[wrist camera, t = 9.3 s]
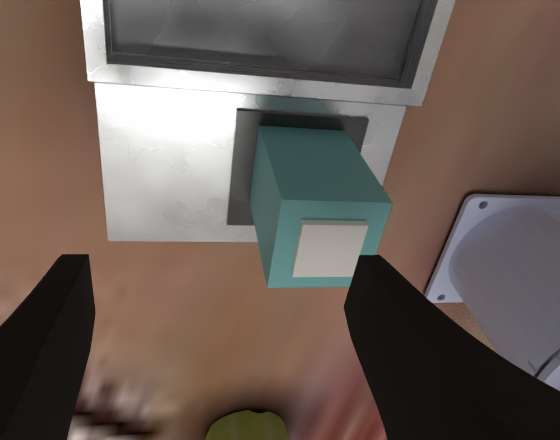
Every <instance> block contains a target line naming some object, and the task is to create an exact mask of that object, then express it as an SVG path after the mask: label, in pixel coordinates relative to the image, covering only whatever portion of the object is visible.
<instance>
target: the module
mask: <svg viewBox="0 0 560 440" xmlns="http://www.w3.org/2000/svg"><path fill="white" fill-rule="evenodd" d="M391 206H392V201H391V200H390V198H389V197H388V195H387V194H386V192H385V191H384V189H383V188H382V186H381V185H380V183H379V181H378V180H377V178H376V177H375V175H374V174H373V172H372V171H371V169H370V168H369V166H368V165H367V163H366V162H365V160H364V159H363V157H362V155H361V154H360V152H359V151H358V149H357V148H356V146H355V145H354V143H353V142H352V140H351V139H350V137H349V136H348V134H347V133H346V131H338V130H322V129H306V128H290V127H274V126H259V129H258V137H257V145H256V153H255V162H254V170H253V178H252V187H251V195H250V207H251V211H252V216H253V221H254V226H255V231H256V236H257V240H258V245H259V250H260V255H261V260H262V265H263V269H264V274H265V279H266V284H267V288H289V287H350V284H351V281H352V278H353V274H354V271H355V267H356V264H357V261H358V257H359V255H376V252H377V249H378V246H379V243H380V240H381V237H382V234H383V231H384V228H385V224H386V221H387V218H388V215H389V212H390V209H391Z"/></svg>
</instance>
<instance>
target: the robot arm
mask: <svg viewBox="0 0 560 440" xmlns="http://www.w3.org/2000/svg"><path fill="white" fill-rule="evenodd" d="M483 201H484V202H483ZM481 202H483V203H482V204H481V205H479V204H480V203H481ZM444 302H464V304H465V305H466V307H467V308H468V310H469V311H470V313H471V314H472V316H473V317H474V319H475V320H476V322H477V323H478V325H479V326H480V328H481V329H482V331H483V332H484V334H485V335H486V337H487V338H488V340H489V341H490V343H491V344H492V345H493V347H494V348H495V350H496V351H497V353H498V354H497V353H496V352H494V351H493V350H491V349H490V348H489V347H487V346H486V345H484V344H483V343H482V342H480V341H479V340H477V339H476V338H475V337H473V336H472V335H471V334H469V333H468V332H467V331H465V330H464V329H463V328H462V327H460V326H459V325H458V324H457V323H455V322H454V321H453V320H452V319H450V318H449V317H448V316H447V315H446V314H444V313H443V312H442V311H441V310H440V309H438V308H437V307H436V306H435V305H434V304H433V303H444ZM344 310H345V315H346V319H347V324H348V328H349V332H350V336H351V339H352V342H353V345H354V348H355V350H356V353H357V356H358V358H359V361H360V363H361V366H362V369H363V371H364V374H365V376H366V379H367V381H368V384H369V387H370V389H371V392H372V394H373V397H374V400H375V402H376V405H377V407H378V410H379V413H380V416H381V419H382V422H383V425H384V428H385V432H386V436H387V439H388V440H560V197H556V196H526V195H496V194H472V195H470V196H468V197H467V198H466V199H465V201H464V203H463V205H462V207H461V210H460V212H459V214H458V217H457V219H456V221H455V224H454V226H453V228H452V231H451V233H450V235H449V238H448V240H447V243H446V245H445V247H444V250H443V252H442V254H441V257H440V259H439V261H438V264H437V266H436V268H435V271H434V273H433V275H432V278H431V280H430V282H429V285H428V287H427V290H426V292H425V295H423V294H422V293H420V292H419V291H418V290H417V289H416V288H415V287H414V286H413V285H412V284H411V283H410V282H409V281H407V280H406V279H405V278H404V277H403V276H402V275H401V274H400V273H399V272H398V271H397V270H396V269H395V268H394V267H392V266H391V265H390V264H389V263H388V262H387V261H386V260H385V259H384V258H382V257H381V256H380V255H359V257H358V261H357V264H356V267H355V271H354V274H353V278H352V281H351V284H350V288H349V291H348V294H347V298H346V301H345V304H344ZM94 320H95V304H94V296H93V287H92V279H91V270H90V262H89V254H62V255H61V256H60V257H59V258H58V259H57V260H56V262H55V263H54V264H53V265H52V267H51V268H50V269H49V271H48V272H47V273H46V274H45V276H44V277H43V278H42V279H41V281H40V282H39V283H38V284H37V286H36V287H35V288H34V289H33V290H32V292H31V293H30V294H29V295H28V296H27V297H26V299H25V300H24V301H23V302H22V303H21V304H20V305H19V306H18V308H17V309H16V310H15V311H14V312H13V313H12V314H11V315H10V317H9V318H8V319H7V320H6V321H5V322H4V323H3V324H2V325H1V326H0V440H67V436H68V431H69V428H70V424H71V420H72V417H73V413H74V409H75V405H76V402H77V398H78V394H79V391H80V387H81V383H82V379H83V376H84V372H85V368H86V364H87V361H88V357H89V353H90V349H91V342H92V335H93V328H94Z"/></svg>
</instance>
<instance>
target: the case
mask: <svg viewBox="0 0 560 440" xmlns="http://www.w3.org/2000/svg"><path fill="white" fill-rule="evenodd" d="M80 3H81V14H82V24H83V35H84V45H85V56H86V67H87V77H88V81H95V82H108V83H121V84H135V85H148V86H161V87H174V88H187V89H200V90H213V91H226V92H240V93H253V94H266V95H279V96H292V97H305V98H318V99H332V100H345V101H358V102H371V103H384V104H397V105H410V106H422V103H423V100H424V97H425V94H426V91H427V88H428V84H429V81H430V78H431V75H432V72H433V69H434V66H435V63H436V60H437V56H438V53H439V50H440V47H441V44H442V41H443V38H444V35H445V32H446V28H447V25H448V22H449V19H450V16H451V13H452V10H453V7H454V4H455V0H80Z"/></svg>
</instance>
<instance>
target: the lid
mask: <svg viewBox="0 0 560 440" xmlns="http://www.w3.org/2000/svg"><path fill="white" fill-rule="evenodd" d="M93 82H94V83H95V95H96V106H97V118H98V129H99V141H100V153H101V164H102V176H103V187H104V199H105V211H106V222H107V234H108V241H182V242H258V240H257V236H256V231H255V226H254V221H253V216H252V211H251V207H250V195H251V187H252V178H253V170H254V162H255V153H256V145H257V137H258V129H259V126H274V127H290V128H306V129H322V130H338V131H346V133H347V134H348V136H349V137H350V139H351V140H352V142H353V143H354V145H355V146H356V148H357V149H358V151H359V152H360V154H361V155H362V157H363V159H364V160H365V162H366V163H367V165H368V166H369V168H370V169H371V171H372V172H373V174H374V175H375V177H376V178H377V180H378V181H379V183H380V185H381V186H382V185H383V182H384V179H385V175H386V172H387V169H388V166H389V162H390V159H391V156H392V152H393V149H394V146H395V142H396V139H397V136H398V132H399V129H400V126H401V122H402V119H403V116H404V113H405V109H406V106H408V107H409V105H397V104H384V103H371V102H358V101H345V100H332V99H318V98H305V97H292V96H279V95H266V94H253V93H240V92H226V91H213V90H200V89H187V88H174V87H161V86H148V85H135V84H121V83H108V82H95V81H93Z"/></svg>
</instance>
